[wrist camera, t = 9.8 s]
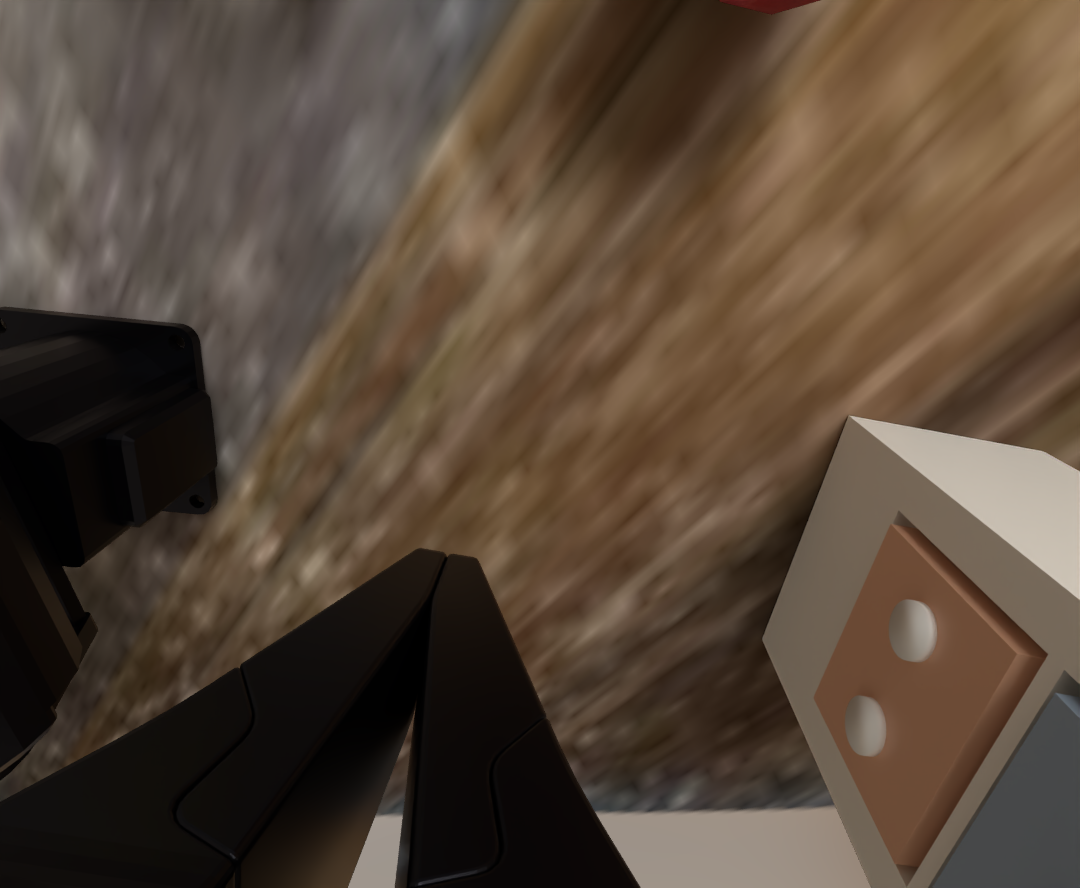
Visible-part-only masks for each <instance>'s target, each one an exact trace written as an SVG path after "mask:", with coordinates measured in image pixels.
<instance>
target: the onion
mask: <svg viewBox="0 0 1080 888" xmlns="http://www.w3.org/2000/svg"><path fill="white" fill-rule="evenodd" d="M719 1H720V2H723V3H727V4H731V5H735V6H739V7H743V8H747V9H751V10H755V11H759V12H763V13H767V14H771V15H772V14H775V13H778V12H782V11H785V10H789V9H792V8H796V7H799V6H802V5H806V4H809V3H813V2H816V1H820V0H719Z"/></svg>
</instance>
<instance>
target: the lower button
mask: <svg viewBox="0 0 1080 888" xmlns="http://www.w3.org/2000/svg"><path fill="white" fill-rule="evenodd" d="M1047 656H1048V654H1047V653H1046V652H1045V651H1044V650H1043V649H1042V648H1041V647H1040V646H1039V645H1038V644H1037V643H1036V642H1035V641H1034V640H1033V639H1032V638H1031V637H1030V636H1029V635H1028V634H1027V633H1026V632H1025V631H1024V630H1023V629H1021V628H1020V627H1019V626H1018V625H1017V624H1016V623H1015V622H1014V621H1013V620H1012V619H1011V618H1010V617H1009V616H1008V615H1007V614H1006V613H1005V612H1004V611H1003V610H1002V609H1001V608H1000V607H999V606H998V605H997V604H995V603H994V602H993V601H992V600H991V599H990V598H989V597H988V596H987V595H986V594H985V593H984V592H983V591H982V590H981V589H980V588H979V587H978V586H977V585H976V584H975V583H974V582H973V581H972V580H971V579H970V578H968V577H967V576H966V575H965V574H964V573H963V572H962V571H961V570H960V569H959V568H958V567H957V566H956V565H955V564H954V563H953V562H952V561H951V560H950V559H949V558H948V557H947V556H946V555H945V554H944V553H942V552H941V551H940V550H939V549H938V548H937V547H936V546H935V545H934V544H933V543H932V542H931V541H930V540H929V539H928V538H927V537H926V536H925V535H924V534H923V533H922V532H921V531H920V530H919V529H916V528H911V527H905V526H899V525H894V524H890V526H889V529H888V531H887V533H886V535H885V538H884V540H883V542H882V544H881V547H880V549H879V551H878V553H877V556H876V558H875V560H874V562H873V565H872V567H871V569H870V571H869V574H868V576H867V578H866V580H865V583H864V585H863V587H862V589H861V592H860V594H859V596H858V598H857V601H856V603H855V605H854V607H853V610H852V612H851V614H850V616H849V619H848V621H847V623H846V625H845V628H844V630H843V632H842V634H841V637H840V639H839V641H838V643H837V645H836V648H835V650H834V652H833V654H832V657H831V659H830V661H829V663H828V666H827V668H826V670H825V672H824V675H823V677H822V679H821V681H820V684H819V686H818V688H817V690H816V693H815V695H814V697H813V698H814V700H815V702H816V704H817V706H818V708H819V710H820V713H821V715H822V717H823V719H824V721H825V723H826V725H827V727H828V729H829V731H830V733H831V735H832V737H833V739H834V741H835V743H836V745H837V747H838V749H839V751H840V753H841V755H842V757H843V759H844V761H845V764H846V766H847V768H848V770H849V772H850V774H851V776H852V778H853V780H854V782H855V784H856V786H857V788H858V790H859V792H860V794H861V796H862V798H863V800H864V802H865V804H866V806H867V808H868V810H869V813H870V815H871V817H872V819H873V821H874V823H875V825H876V827H877V829H878V831H879V833H880V835H881V837H882V839H883V841H884V843H885V845H886V847H887V849H888V851H889V853H890V855H891V857H892V859H893V861H894V864H900V865H906V866H912V867H919V866H920V865H921V863H922V861H923V860H924V858H925V856H926V855H927V853H928V852H929V850H930V848H931V847H932V845H933V843H934V842H935V840H936V838H937V837H938V835H939V833H940V832H941V830H942V829H943V827H944V825H945V824H946V822H947V820H948V819H949V817H950V815H951V814H952V812H953V810H954V809H955V807H956V806H957V804H958V802H959V801H960V799H961V797H962V796H963V794H964V792H965V791H966V789H967V787H968V786H969V784H970V782H971V781H972V779H973V778H974V776H975V774H976V773H977V771H978V769H979V768H980V766H981V764H982V763H983V761H984V759H985V758H986V756H987V755H988V753H989V751H990V750H991V748H992V746H993V745H994V743H995V741H996V740H997V738H998V736H999V735H1000V733H1001V731H1002V730H1003V728H1004V727H1005V725H1006V723H1007V722H1008V720H1009V718H1010V717H1011V715H1012V713H1013V712H1014V710H1015V708H1016V707H1017V705H1018V704H1019V702H1020V700H1021V699H1022V697H1023V695H1024V694H1025V692H1026V690H1027V689H1028V687H1029V685H1030V684H1031V682H1032V680H1033V679H1034V677H1035V676H1036V674H1037V672H1038V671H1039V669H1040V667H1041V666H1042V664H1043V662H1044V661H1045V659H1046V657H1047Z"/></svg>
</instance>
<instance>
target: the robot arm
mask: <svg viewBox="0 0 1080 888" xmlns="http://www.w3.org/2000/svg"><path fill="white" fill-rule="evenodd" d="M1 319H2V320H3V321H4V322H5V324H6V326H7V329H5V328H4V327H3V326H2V324H1V322H0V780H2V779H3V778H4V777H5V776H6V775H8V774H9V773H10V772H11V771H12V770H13V769H14V768H15V767H16V766H17V765H18V764H19V763H20V762H21V761H22V760H23V759H24V758H25V757H26V756H27V754H28V753H29V752H30V751H31V749H32V748H33V746H34V745H35V744H36V743H37V742H38V741H39V740H40V739H41V738H42V737H43V736H44V735H45V734H46V733H47V732H48V731H49V729H50V728H51V726H52V725H53V723H54V722H55V720H56V718H57V713H56V711H55V709H56V707H57V705H58V703H59V701H60V699H61V698H62V696H63V694H64V692H65V690H66V688H67V687H68V685H69V683H70V681H71V679H72V678H73V676H74V675H75V674H76V672H77V671H78V668H79V665H80V663H81V661H82V659H83V657H84V655H85V654H86V652H87V650H88V648H89V646H90V644H91V643H92V641H93V639H94V637H95V635H96V634H97V632H98V628H97V626H96V624H95V622H94V620H93V618H92V616H91V614H90V613H89V612H84V610H83V608H82V606H81V604H80V602H79V600H78V598H77V596H76V594H75V592H74V590H73V588H72V585H71V583H70V581H69V579H68V577H67V575H66V573H65V571H64V569H63V567H62V566H67V567H81V566H82V565H83V564H85V563H86V562H87V561H88V560H90V559H91V558H92V557H93V556H95V555H96V554H97V553H99V552H100V551H101V550H102V549H104V548H105V547H106V546H108V545H109V544H110V543H111V542H113V541H114V540H115V539H116V538H118V537H119V536H120V535H122V534H123V533H124V532H125V531H127V530H128V529H129V528H130V527H141V526H143V525H145V524H146V523H147V522H148V521H150V520H151V519H152V518H153V517H155V516H156V515H157V514H158V513H160V512H161V511H168V512H178V513H189V514H205V513H207V512H209V511H210V510H211V509H212V508H213V507H214V506H215V504H216V503H217V489H216V480H215V472H214V468H215V467H216V466H217V454H216V445H215V436H214V427H213V418H212V409H211V400H210V397H209V395H208V394H207V393H206V391H205V384H204V375H203V366H202V358H201V349H200V341H199V338H198V335H197V334H196V332H195V331H194V330H193V329H192V328H191V327H189V326H187V325H184V324H177V323H167V322H156V321H146V320H136V319H126V318H115V317H105V316H95V315H85V314H74V313H64V312H54V311H43V310H33V309H23V308H13V307H0V321H1ZM176 335H179V336H180V337H181V338H183V340H184V342H185V346H184V348H183V347H181V346H180V345H178V344H177V342H176ZM196 495H198V496H201V497H202V498H203V500H204V503H203V502H200V501H199V500H198V499H197V498H196ZM415 708H416V710H415ZM414 711H415V717H414V724H413V732H412V740H411V749H410V758H409V766H408V775H407V784H406V793H405V802H404V811H403V819H402V828H401V837H400V846H399V855H398V865H397V872H396V881H395V888H640V886H639V884H638V883H637V881H636V879H635V878H634V876H633V874H632V873H631V871H630V870H629V868H628V866H627V865H626V863H625V861H624V860H623V858H622V857H621V855H620V853H619V851H618V850H617V848H616V847H615V845H614V843H613V841H612V840H611V838H610V837H609V835H608V834H607V832H606V830H605V828H604V827H603V825H602V823H601V822H600V820H599V818H598V817H597V815H596V813H595V811H594V810H593V808H592V806H591V804H590V803H589V801H588V799H587V797H586V796H585V794H584V792H583V790H582V789H581V787H580V785H579V783H578V782H577V780H576V778H575V776H574V774H573V771H572V769H571V767H570V765H569V763H568V761H567V759H566V757H565V755H564V753H563V751H562V749H561V747H560V745H559V742H558V740H557V738H556V736H555V733H554V731H553V729H552V726H551V724H550V722H549V720H548V719H546V713H545V711H544V709H543V706H542V704H541V702H540V700H539V697H538V695H537V693H536V691H535V688H534V686H533V684H532V681H531V679H530V677H529V675H528V672H527V670H526V668H525V665H524V663H523V661H522V659H521V656H520V654H519V652H518V650H517V647H516V645H515V643H514V640H513V638H512V636H511V634H510V631H509V629H508V627H507V624H506V622H505V620H504V618H503V615H502V613H501V611H500V608H499V606H498V604H497V602H496V599H495V597H494V595H493V593H492V590H491V588H490V586H489V583H488V581H487V579H486V577H485V574H484V572H483V570H482V567H481V565H480V563H479V561H478V559H476V558H474V557H469V556H463V555H457V554H450V555H449V556H448V557H447V556H446V554H445V553H444V552H440V551H434V550H429V549H423V548H418V549H416V550H414V551H413V552H411V553H410V554H408V555H407V556H405V557H404V558H402V559H401V560H399V561H398V562H396V563H394V564H393V565H391V566H390V567H388V568H387V569H385V570H384V571H382V572H381V573H379V574H378V575H376V576H375V577H373V578H372V579H370V580H369V581H367V582H366V583H364V584H362V585H361V586H359V587H358V588H356V589H355V590H353V591H352V592H350V593H349V594H347V595H346V596H344V597H343V598H341V599H340V600H338V601H337V602H335V603H334V604H332V605H330V606H329V607H327V608H326V609H324V610H323V611H321V612H320V613H318V614H317V615H315V616H314V617H312V618H311V619H309V620H308V621H306V622H305V623H303V624H302V625H300V626H298V627H297V628H295V629H294V630H292V631H291V632H289V633H288V634H286V635H285V636H283V637H282V638H280V639H279V640H277V641H276V642H274V643H273V644H271V645H270V646H268V647H266V648H265V649H263V650H262V651H260V652H259V653H257V654H256V655H254V656H253V657H251V658H250V659H248V660H247V661H245V662H244V663H242V664H241V666H240V668H234V669H232V670H231V671H229V672H228V673H226V674H225V675H223V676H222V677H220V678H219V679H217V680H216V681H214V682H213V683H211V684H210V685H208V686H206V687H205V688H203V689H202V690H200V691H198V692H197V693H195V694H194V695H192V696H190V697H189V698H187V699H185V700H184V701H182V702H181V703H179V704H177V705H176V706H174V707H173V708H171V709H169V710H168V711H166V712H164V713H163V714H161V715H159V716H157V717H155V718H154V719H152V720H150V721H148V722H147V723H145V724H143V725H141V726H139V727H138V728H136V729H134V730H132V731H131V732H129V733H127V734H125V735H123V736H122V737H120V738H118V739H116V740H115V741H113V742H111V743H109V744H107V745H105V746H104V747H102V748H100V749H98V750H96V751H94V752H92V753H91V754H89V755H87V756H85V757H83V758H81V759H79V760H77V761H76V762H74V763H72V764H70V765H68V766H66V767H64V768H63V769H61V770H59V771H57V772H55V773H53V774H51V775H50V776H48V777H46V778H44V779H42V780H40V781H38V782H37V783H35V784H33V785H31V786H29V787H27V788H25V789H24V790H22V791H20V792H18V793H16V794H14V795H12V796H10V797H9V798H7V799H5V800H3V801H1V802H0V888H348V886H349V883H350V880H351V878H352V875H353V873H354V870H355V867H356V865H357V862H358V859H359V857H360V854H361V852H362V849H363V846H364V844H365V841H366V839H367V836H368V833H369V831H370V828H371V826H372V823H373V820H374V818H375V815H376V813H377V810H378V807H379V805H380V802H381V800H382V797H383V794H384V792H385V789H386V787H387V784H388V781H389V779H390V776H391V774H392V771H393V768H394V766H395V763H396V761H397V758H398V755H399V753H400V750H401V748H402V745H403V742H404V740H405V737H406V735H407V732H408V729H409V726H410V723H411V720H412V718H413V715H414Z"/></svg>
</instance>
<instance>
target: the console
mask: <svg viewBox="0 0 1080 888" xmlns="http://www.w3.org/2000/svg"><path fill="white" fill-rule="evenodd" d="M890 524H894V525H899V526H905V527H911V528H916V529H919V530H920V531H921V532H922V533H923V534H924V535H925V536H926V537H927V538H928V539H929V540H930V541H931V542H932V543H933V544H934V545H935V546H936V547H937V548H938V549H939V550H940V551H941V552H942V553H944V554H945V555H946V556H947V557H948V558H949V559H950V560H951V561H952V562H953V563H954V564H955V565H956V566H957V567H958V568H959V569H960V570H961V571H962V572H963V573H964V574H965V575H966V576H967V577H968V578H970V579H971V580H972V581H973V582H974V583H975V584H976V585H977V586H978V587H979V588H980V589H981V590H982V591H983V592H984V593H985V594H986V595H987V596H988V597H989V598H990V599H991V600H992V601H993V602H994V603H995V604H997V605H998V606H999V607H1000V608H1001V609H1002V610H1003V611H1004V612H1005V613H1006V614H1007V615H1008V616H1009V617H1010V618H1011V619H1012V620H1013V621H1014V622H1015V623H1016V624H1017V625H1018V626H1019V627H1020V628H1021V629H1023V630H1024V631H1025V632H1026V633H1027V634H1028V635H1029V636H1030V637H1031V638H1032V639H1033V640H1034V641H1035V642H1036V643H1037V644H1038V645H1039V646H1040V647H1041V648H1042V649H1043V650H1044V651H1045V652H1046V653H1047V654H1048V656H1047V657H1046V659H1045V661H1044V662H1043V664H1042V666H1041V667H1040V669H1039V671H1038V672H1037V674H1036V676H1035V677H1034V679H1033V680H1032V682H1031V684H1030V685H1029V687H1028V689H1027V690H1026V692H1025V694H1024V695H1023V697H1022V699H1021V700H1020V702H1019V704H1018V705H1017V707H1016V708H1015V710H1014V712H1013V713H1012V715H1011V717H1010V718H1009V720H1008V722H1007V723H1006V725H1005V727H1004V728H1003V730H1002V731H1001V733H1000V735H999V736H998V738H997V740H996V741H995V743H994V745H993V746H992V748H991V750H990V751H989V753H988V755H987V756H986V758H985V759H984V761H983V763H982V764H981V766H980V768H979V769H978V771H977V773H976V774H975V776H974V778H973V779H972V781H971V782H970V784H969V786H968V787H967V789H966V791H965V792H964V794H963V796H962V797H961V799H960V801H959V802H958V804H957V806H956V807H955V809H954V810H953V812H952V814H951V815H950V817H949V819H948V820H947V822H946V824H945V825H944V827H943V829H942V830H941V832H940V833H939V835H938V837H937V838H936V840H935V842H934V843H933V845H932V847H931V848H930V850H929V852H928V853H927V855H926V856H925V858H924V860H923V861H922V863H921V865H920V866H919V867H912V866H906V865H900V864H894V861H893V859H892V857H891V855H890V853H889V851H888V849H887V847H886V845H885V843H884V841H883V839H882V837H881V835H880V833H879V831H878V829H877V827H876V825H875V823H874V821H873V819H872V817H871V815H870V813H869V810H868V808H867V806H866V804H865V802H864V800H863V798H862V796H861V794H860V792H859V790H858V788H857V786H856V784H855V782H854V780H853V778H852V776H851V774H850V772H849V770H848V768H847V766H846V764H845V761H844V759H843V757H842V755H841V753H840V751H839V749H838V747H837V745H836V743H835V741H834V739H833V737H832V735H831V733H830V731H829V729H828V727H827V725H826V723H825V721H824V719H823V717H822V715H821V713H820V710H819V708H818V706H817V704H816V702H815V700H814V698H813V697H814V695H815V693H816V690H817V688H818V686H819V684H820V681H821V679H822V677H823V675H824V672H825V670H826V668H827V666H828V663H829V661H830V659H831V657H832V654H833V652H834V650H835V648H836V645H837V643H838V641H839V639H840V637H841V634H842V632H843V630H844V628H845V625H846V623H847V621H848V619H849V616H850V614H851V612H852V610H853V607H854V605H855V603H856V601H857V598H858V596H859V594H860V592H861V589H862V587H863V585H864V583H865V580H866V578H867V576H868V574H869V571H870V569H871V567H872V565H873V562H874V560H875V558H876V556H877V553H878V551H879V549H880V547H881V544H882V542H883V540H884V538H885V535H886V533H887V531H888V529H889V526H890ZM762 641H763V643H764V645H765V647H766V650H767V652H768V654H769V657H770V659H771V661H772V663H773V666H774V668H775V670H776V672H777V675H778V677H779V679H780V682H781V684H782V686H783V688H784V691H785V693H786V695H787V698H788V700H789V702H790V704H791V707H792V709H793V711H794V713H795V716H796V718H797V720H798V723H799V725H800V727H801V729H802V732H803V734H804V736H805V738H806V741H807V743H808V745H809V748H810V750H811V752H812V754H813V757H814V759H815V761H816V763H817V766H818V768H819V770H820V773H821V775H822V777H823V779H824V782H825V784H826V786H827V788H828V791H829V793H830V795H831V798H832V800H833V802H834V804H835V807H836V809H837V811H838V813H839V816H840V818H841V820H842V823H843V825H844V827H845V829H846V832H847V834H848V836H849V839H850V841H851V843H852V845H853V847H854V850H855V852H856V854H857V857H858V859H859V861H860V863H861V866H862V868H863V870H864V873H865V875H866V877H867V879H868V882H869V884H870V886H871V888H932V887H933V885H934V884H935V882H936V881H937V879H938V877H939V876H940V874H941V873H942V871H943V870H944V868H945V866H946V865H947V863H948V862H949V860H950V858H951V857H952V855H953V854H954V852H955V851H956V849H957V847H958V846H959V844H960V843H961V841H962V839H963V838H964V836H965V835H966V833H967V832H968V830H969V828H970V827H971V825H972V824H973V822H974V820H975V819H976V817H977V816H978V814H979V813H980V811H981V809H982V808H983V806H984V805H985V803H986V801H987V800H988V798H989V797H990V795H991V794H992V792H993V790H994V789H995V787H996V786H997V784H998V782H999V781H1000V779H1001V778H1002V776H1003V775H1004V773H1005V771H1006V770H1007V768H1008V767H1009V765H1010V763H1011V762H1012V760H1013V759H1014V757H1015V755H1016V754H1017V752H1018V751H1019V749H1020V748H1021V746H1022V744H1023V743H1024V741H1025V740H1026V738H1027V736H1028V735H1029V733H1030V732H1031V730H1032V729H1033V727H1034V725H1035V724H1036V722H1037V721H1038V719H1039V717H1040V716H1041V714H1042V713H1043V711H1044V710H1045V708H1046V706H1047V705H1048V703H1049V702H1050V700H1051V698H1052V697H1053V695H1054V694H1055V693H1059V694H1065V695H1070V696H1076V697H1080V471H1078V470H1076V469H1074V468H1073V467H1071V466H1069V465H1067V464H1065V463H1063V462H1062V461H1060V460H1058V459H1056V458H1054V457H1053V456H1051V455H1049V454H1047V453H1045V452H1043V451H1039V450H1033V449H1028V448H1022V447H1017V446H1011V445H1006V444H1001V443H995V442H990V441H984V440H979V439H973V438H968V437H963V436H957V435H952V434H946V433H941V432H935V431H930V430H925V429H919V428H914V427H908V426H903V425H897V424H892V423H887V422H881V421H876V420H870V419H865V418H859V417H854V416H848V419H847V421H846V424H845V426H844V429H843V431H842V434H841V437H840V439H839V442H838V444H837V447H836V450H835V452H834V455H833V457H832V460H831V462H830V465H829V468H828V470H827V473H826V475H825V478H824V480H823V483H822V486H821V488H820V491H819V493H818V496H817V499H816V501H815V504H814V506H813V509H812V511H811V514H810V517H809V519H808V522H807V524H806V527H805V529H804V532H803V535H802V537H801V540H800V542H799V545H798V548H797V550H796V553H795V555H794V558H793V560H792V563H791V566H790V568H789V571H788V573H787V576H786V578H785V581H784V584H783V586H782V589H781V591H780V594H779V597H778V599H777V602H776V604H775V607H774V609H773V612H772V615H771V617H770V620H769V622H768V625H767V627H766V630H765V633H764V635H763V638H762Z"/></svg>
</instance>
